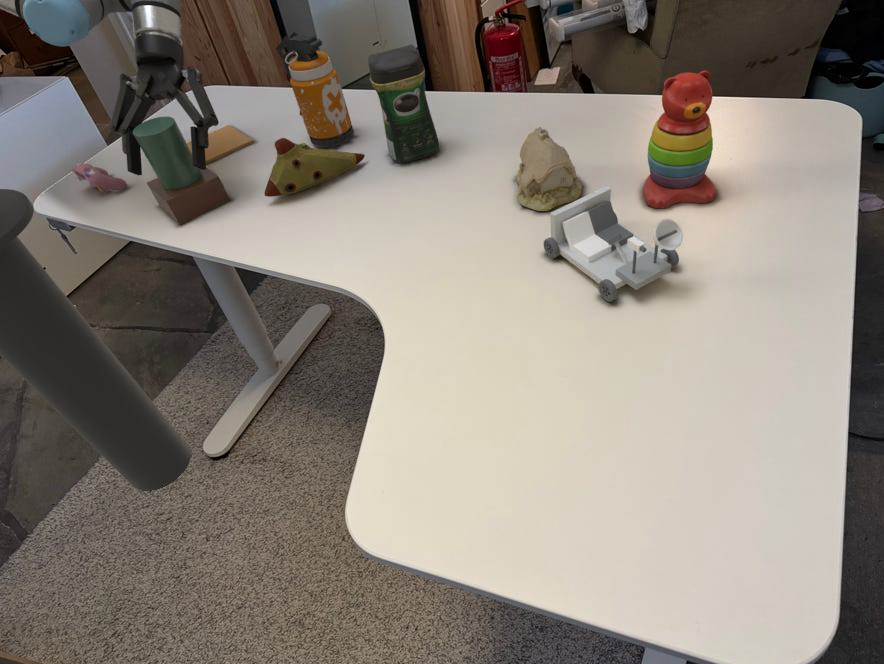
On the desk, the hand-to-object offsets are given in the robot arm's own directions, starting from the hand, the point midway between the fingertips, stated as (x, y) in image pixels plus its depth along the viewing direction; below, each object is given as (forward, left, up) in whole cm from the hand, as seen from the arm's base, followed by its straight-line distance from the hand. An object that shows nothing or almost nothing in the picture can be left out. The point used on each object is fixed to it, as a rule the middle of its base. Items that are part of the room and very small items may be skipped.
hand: (167, 170), depth 105 cm
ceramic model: (+47, +45, -8) cm, 66 cm away
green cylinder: (-2, +2, -3) cm, 4 cm away
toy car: (+69, +36, -8) cm, 78 cm away
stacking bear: (+64, +57, -8) cm, 86 cm away
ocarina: (+12, +21, -8) cm, 26 cm away
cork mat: (-21, +15, -8) cm, 27 cm away
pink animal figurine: (-24, -8, -8) cm, 27 cm away
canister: (-2, +32, -8) cm, 33 cm away
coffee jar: (+18, +39, -8) cm, 44 cm away
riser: (-2, +2, -8) cm, 9 cm away
